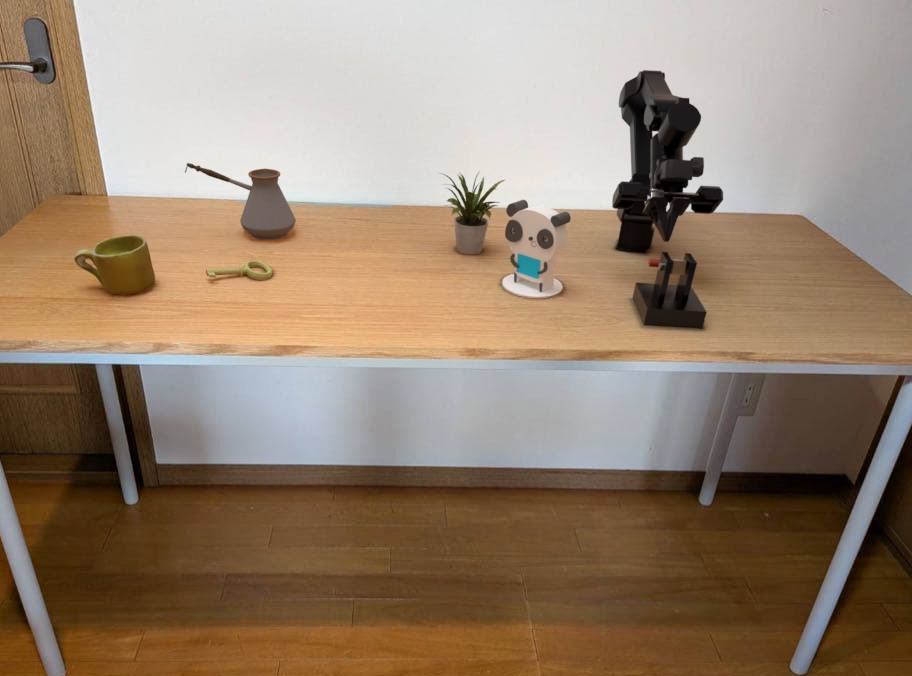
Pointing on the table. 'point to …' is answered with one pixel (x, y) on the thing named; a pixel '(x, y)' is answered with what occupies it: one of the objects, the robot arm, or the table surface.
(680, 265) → the switch lever
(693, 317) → the lever base unit
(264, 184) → the coffee pot
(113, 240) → the mug
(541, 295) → the panda figurine
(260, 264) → the key
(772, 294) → the table surface
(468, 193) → the house plant
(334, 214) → the table surface
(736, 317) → the table surface
